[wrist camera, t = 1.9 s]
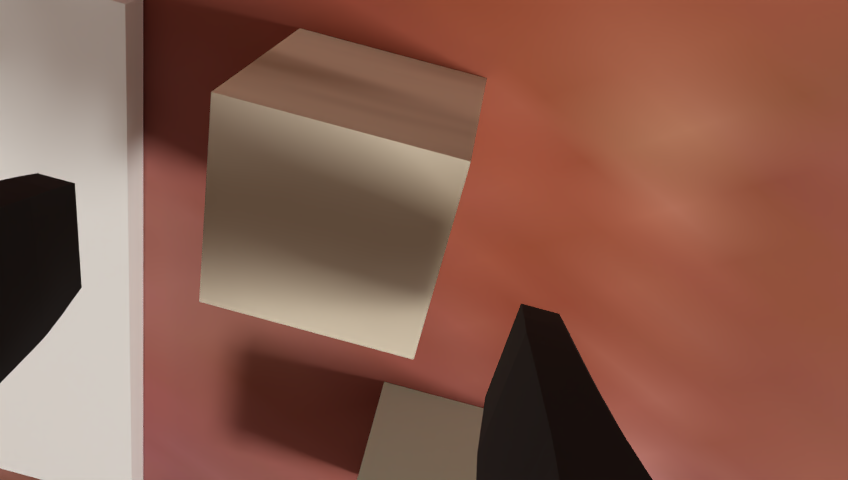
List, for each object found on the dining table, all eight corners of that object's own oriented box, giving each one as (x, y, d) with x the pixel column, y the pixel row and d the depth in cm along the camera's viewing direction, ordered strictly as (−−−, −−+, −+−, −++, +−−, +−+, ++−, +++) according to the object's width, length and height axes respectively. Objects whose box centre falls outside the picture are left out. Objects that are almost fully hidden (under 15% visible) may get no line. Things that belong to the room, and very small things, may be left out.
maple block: (441, 237, 18) (413, 359, 13) (279, 194, 18) (199, 301, 13) (487, 77, 15) (470, 161, 11) (300, 27, 15) (211, 91, 11)
